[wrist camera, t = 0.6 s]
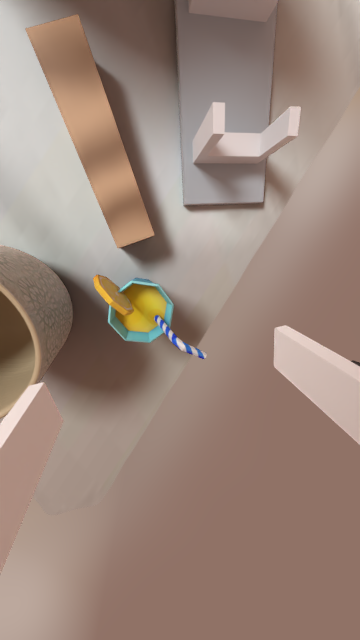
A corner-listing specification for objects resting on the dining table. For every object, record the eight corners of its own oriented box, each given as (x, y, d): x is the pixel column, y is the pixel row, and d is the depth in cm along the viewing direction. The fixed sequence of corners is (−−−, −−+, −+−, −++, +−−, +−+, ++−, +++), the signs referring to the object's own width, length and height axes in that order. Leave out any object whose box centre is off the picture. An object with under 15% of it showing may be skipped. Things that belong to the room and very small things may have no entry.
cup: (192, 297, 36) (228, 331, 22) (169, 334, 37) (188, 388, 23) (116, 251, 31) (100, 255, 17) (93, 295, 32) (59, 333, 18)
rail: (47, 71, 24) (25, 28, 19) (89, 58, 24) (77, 14, 19) (120, 247, 31) (117, 248, 27) (152, 236, 31) (154, 235, 27)
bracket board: (171, -77, 22) (193, -287, 13) (276, -57, 24) (354, -229, 15) (183, 205, 31) (201, 189, 22) (258, 203, 32) (302, 188, 24)
